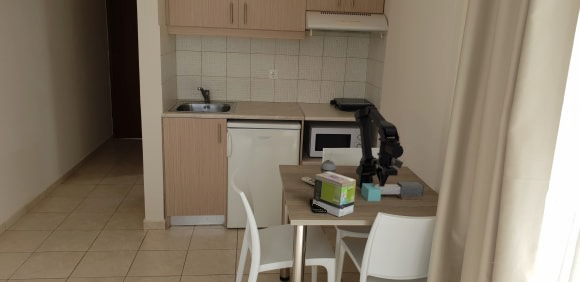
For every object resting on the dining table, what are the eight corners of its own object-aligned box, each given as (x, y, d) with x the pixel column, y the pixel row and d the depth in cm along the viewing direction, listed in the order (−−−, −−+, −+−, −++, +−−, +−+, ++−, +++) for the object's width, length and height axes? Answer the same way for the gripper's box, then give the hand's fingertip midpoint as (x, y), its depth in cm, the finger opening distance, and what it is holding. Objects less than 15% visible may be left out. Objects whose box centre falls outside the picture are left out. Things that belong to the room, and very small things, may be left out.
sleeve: (400, 199, 212) (402, 185, 210) (395, 195, 217) (397, 181, 215) (422, 199, 214) (424, 185, 212) (417, 195, 219) (419, 182, 217)
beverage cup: (324, 188, 221) (327, 148, 216) (336, 192, 216) (340, 151, 212) (315, 191, 215) (318, 150, 211) (328, 195, 211) (331, 154, 206)
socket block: (367, 201, 207) (368, 189, 206) (361, 194, 215) (362, 183, 214) (380, 201, 208) (381, 189, 207) (373, 194, 217) (374, 183, 215)
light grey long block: (373, 194, 210) (375, 177, 208) (371, 191, 213) (372, 175, 211) (408, 194, 213) (410, 177, 211) (404, 191, 216) (407, 175, 214)
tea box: (353, 212, 192) (357, 179, 189) (338, 217, 185) (341, 183, 182) (327, 202, 203) (329, 170, 199) (311, 206, 196) (314, 173, 193)
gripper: (410, 157, 200) (406, 191, 204) (393, 147, 218) (390, 178, 222) (387, 157, 198) (383, 191, 202) (371, 146, 216) (368, 178, 220)
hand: (381, 184), depth 211 cm, fingers closed on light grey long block, 2 cm apart
